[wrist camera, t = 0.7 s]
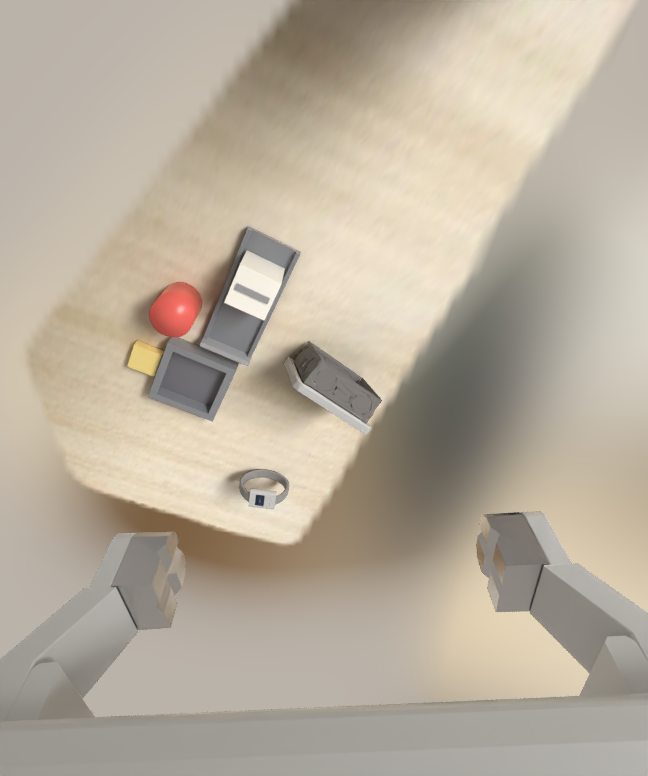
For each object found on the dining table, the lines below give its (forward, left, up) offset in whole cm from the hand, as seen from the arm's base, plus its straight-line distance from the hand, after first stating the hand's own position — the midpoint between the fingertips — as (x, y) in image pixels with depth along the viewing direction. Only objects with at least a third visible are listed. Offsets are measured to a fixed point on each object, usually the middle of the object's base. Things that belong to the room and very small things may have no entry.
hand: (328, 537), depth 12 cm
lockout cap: (+13, -9, -37) cm, 40 cm away
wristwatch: (+31, +8, -37) cm, 49 cm away
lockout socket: (+21, -7, -37) cm, 43 cm away
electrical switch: (+13, +8, -37) cm, 40 cm away
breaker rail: (+10, -3, -37) cm, 38 cm away
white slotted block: (+7, -3, -37) cm, 38 cm away
